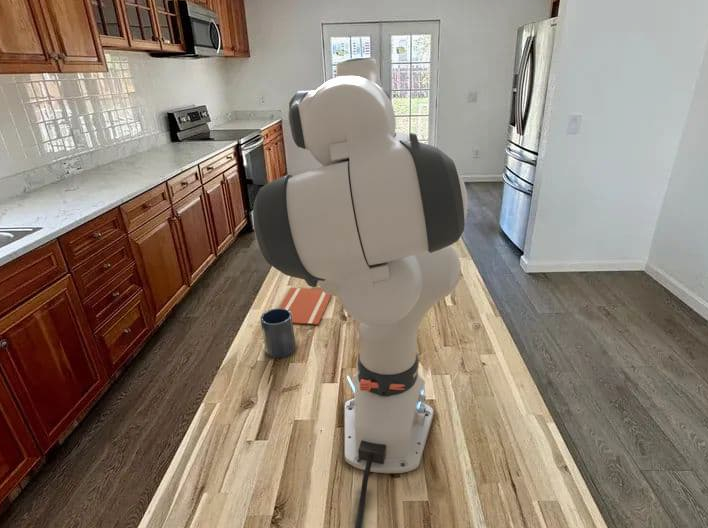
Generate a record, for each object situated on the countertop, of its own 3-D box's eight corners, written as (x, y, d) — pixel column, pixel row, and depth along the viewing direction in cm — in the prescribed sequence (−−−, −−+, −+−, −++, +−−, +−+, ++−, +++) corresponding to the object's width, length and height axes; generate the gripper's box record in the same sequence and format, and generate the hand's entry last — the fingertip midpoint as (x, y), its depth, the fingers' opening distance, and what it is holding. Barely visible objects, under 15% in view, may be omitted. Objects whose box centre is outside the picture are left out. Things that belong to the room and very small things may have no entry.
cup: (290, 359, 109) (286, 325, 105) (261, 357, 110) (255, 323, 106) (299, 341, 116) (295, 309, 111) (271, 339, 117) (266, 307, 112)
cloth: (318, 325, 123) (318, 323, 122) (270, 322, 124) (270, 321, 124) (333, 291, 140) (333, 289, 140) (291, 289, 142) (291, 288, 142)
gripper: (314, 150, 89) (325, 210, 97) (413, 144, 86) (417, 207, 93) (321, 140, 94) (332, 198, 102) (415, 133, 91) (419, 194, 98)
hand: (373, 202), depth 98 cm, fingers open, 8 cm apart
